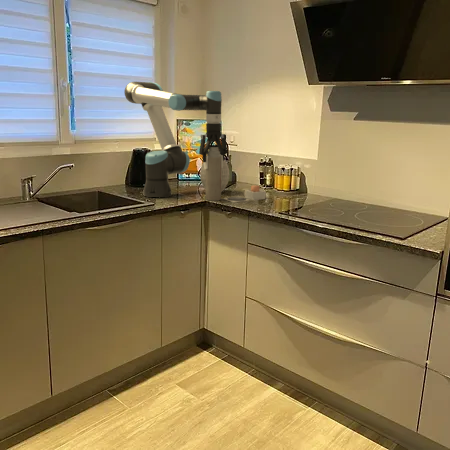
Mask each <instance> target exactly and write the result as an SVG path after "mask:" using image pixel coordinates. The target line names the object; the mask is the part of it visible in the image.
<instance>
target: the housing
mask: <svg viewBox="0 0 450 450" xmlns="http://www.w3.org/2000/svg"><path fill="white" fill-rule="evenodd" d="M266 196H267V192H266V190H263V189H259V191H258V192H253V191H251V189H245V190H244V198H246V199H249V200H250V201H258V200H266Z"/></svg>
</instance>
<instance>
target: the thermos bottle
mask: <svg viewBox="0 0 450 450" xmlns="http://www.w3.org/2000/svg"><path fill="white" fill-rule="evenodd" d="M220 155H221V154H220V152H219V149H218V145H217V144H211V145H210V147H209V150H208V153H207V155H206V156H208V169H206V189H205V200H206V201H210V202H211V201H215V202H217V201H220V200H221V199H222V192H221V156H220Z"/></svg>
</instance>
